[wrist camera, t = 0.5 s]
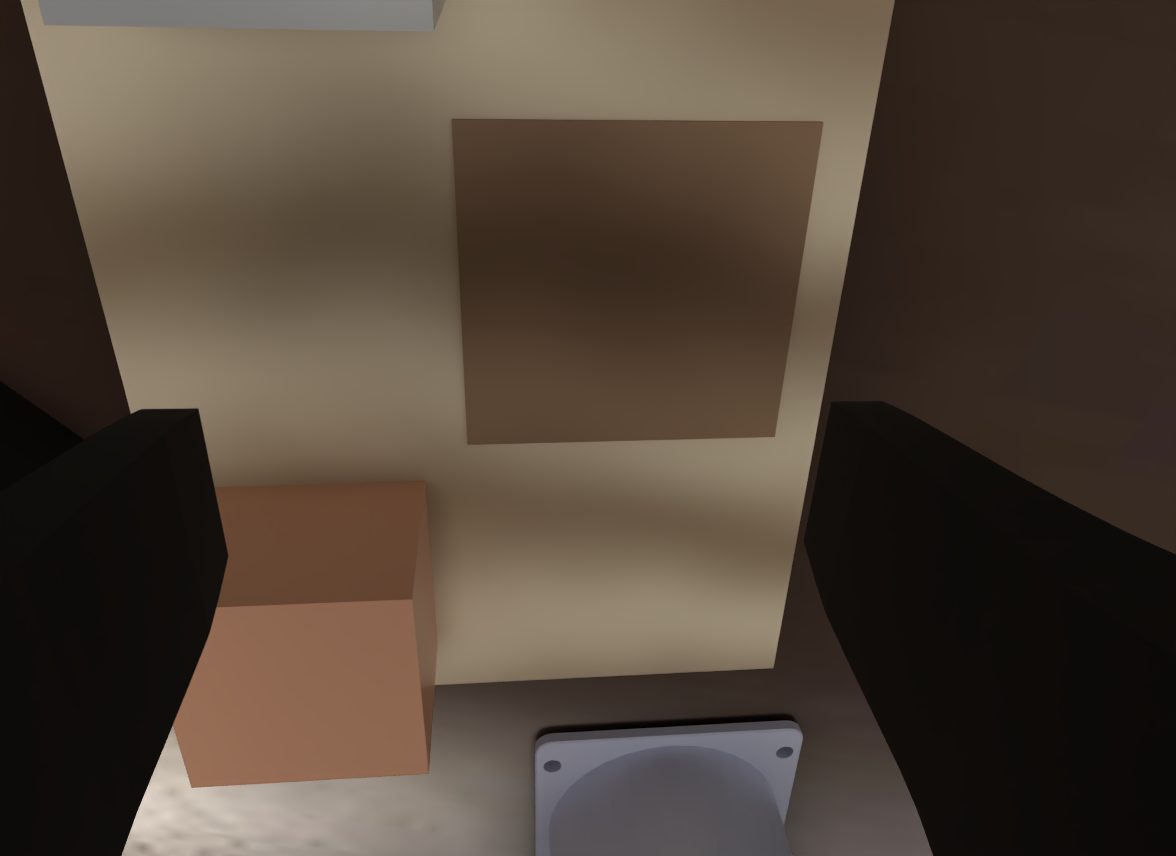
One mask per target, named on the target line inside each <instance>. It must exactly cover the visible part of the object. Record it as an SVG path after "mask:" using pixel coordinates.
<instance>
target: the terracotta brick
mask: <svg viewBox="0 0 1176 856" xmlns="http://www.w3.org/2000/svg"><path fill="white" fill-rule="evenodd" d="M215 492H216V497H217V502H218V507H219V512H220V517H221V521H222V526H223V531H224V536H225V541H226V546H227V551H228V561H227V565H226V569H225V574H224V578H223V583H222V587H221V591H220V596H219V600H218V604H217V607H216V611H215V615H214V619H213V623H212V627H211V630H210V634H209V636H208V639H207V641H206V644H205V647H204V649H203V652H202V654H201V657H200V659H199V662H198V664H197V667H196V669H195V672H194V674H193V677H192V679H191V682H190V684H189V687H188V689H187V692H186V694H185V697H184V699H183V701H182V704H181V706H180V709H179V711H178V714H177V716H176V718H175V721H174V723H173V727H174V730H175V734H176V737H177V740H178V744H179V747H180V750H181V754H182V757H183V760H184V764H185V767H186V770H187V774H188V777H189V780H190V784H191V787H192V788H195V787H212V786H229V785H246V784H263V783H280V782H297V781H313V780H330V779H347V778H364V777H381V776H398V775H415V774H429V763H430V749H431V734H432V719H433V705H434V690H435V676H436V661H437V646H438V640H437V627H436V614H435V602H434V589H433V576H432V563H431V551H430V538H429V525H428V512H427V500H426V487H425V481H411V482H377V483H343V484H309V485H275V486H241V487H215Z"/></svg>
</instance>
